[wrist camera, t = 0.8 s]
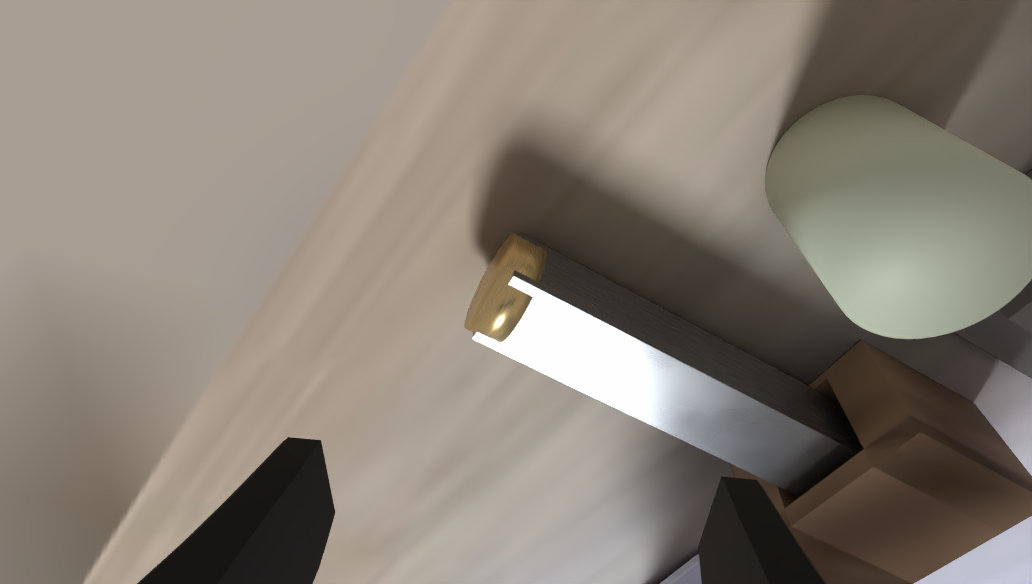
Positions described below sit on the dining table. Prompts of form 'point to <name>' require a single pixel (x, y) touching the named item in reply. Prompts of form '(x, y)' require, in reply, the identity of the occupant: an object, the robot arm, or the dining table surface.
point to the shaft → (657, 367)
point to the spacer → (901, 217)
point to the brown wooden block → (903, 478)
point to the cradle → (1007, 331)
